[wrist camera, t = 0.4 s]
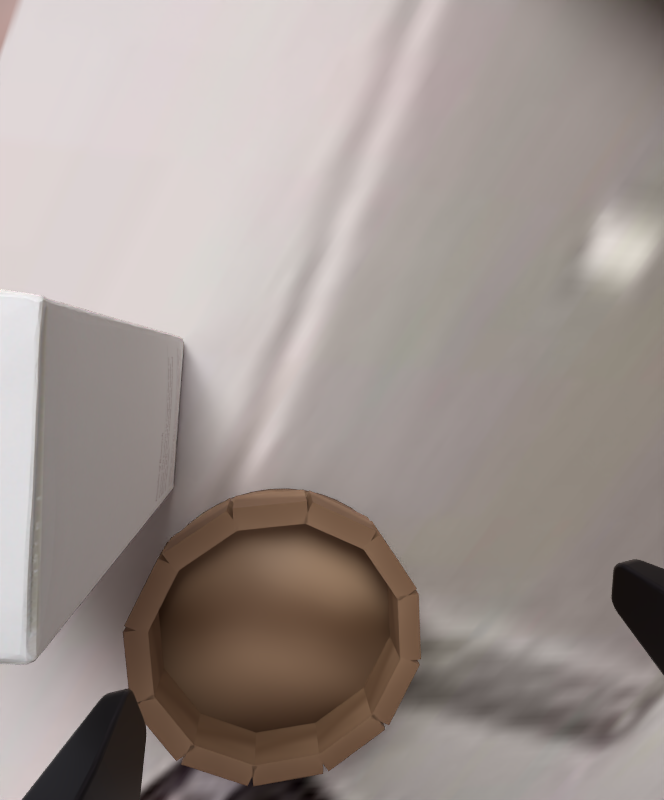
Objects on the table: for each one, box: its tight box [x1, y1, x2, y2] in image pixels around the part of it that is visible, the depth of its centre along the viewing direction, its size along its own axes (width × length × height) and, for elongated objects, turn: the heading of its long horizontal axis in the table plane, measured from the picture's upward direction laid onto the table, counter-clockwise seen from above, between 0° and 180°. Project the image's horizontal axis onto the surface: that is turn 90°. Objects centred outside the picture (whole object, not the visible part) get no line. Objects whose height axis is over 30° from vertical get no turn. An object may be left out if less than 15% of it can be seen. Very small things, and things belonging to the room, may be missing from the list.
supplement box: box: [0, 289, 184, 665], centre depth 14 cm, size 7×7×13 cm
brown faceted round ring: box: [123, 489, 421, 786], centre depth 21 cm, size 13×13×2 cm
